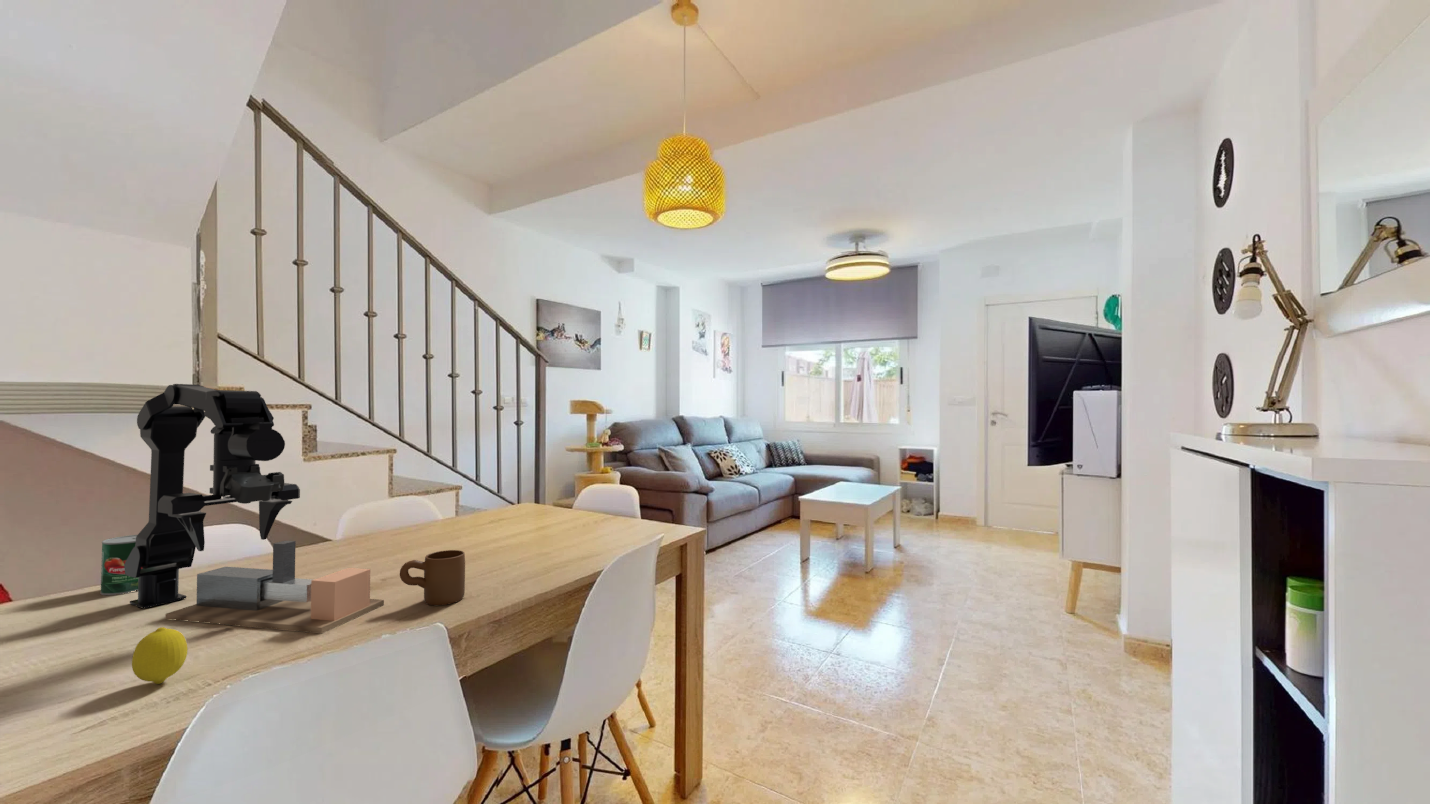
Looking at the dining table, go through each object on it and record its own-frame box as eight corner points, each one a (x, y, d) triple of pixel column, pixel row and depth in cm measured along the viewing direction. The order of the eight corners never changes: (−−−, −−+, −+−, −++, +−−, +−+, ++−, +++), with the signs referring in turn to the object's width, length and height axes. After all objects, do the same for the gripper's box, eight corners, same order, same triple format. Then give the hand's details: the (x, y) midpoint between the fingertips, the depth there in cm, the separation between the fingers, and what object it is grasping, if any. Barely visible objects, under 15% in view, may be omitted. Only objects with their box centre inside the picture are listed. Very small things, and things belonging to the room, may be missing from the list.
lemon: (157, 674, 79) (158, 620, 79) (197, 673, 80) (198, 619, 80) (118, 694, 74) (120, 636, 74) (162, 693, 74) (163, 635, 74)
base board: (165, 619, 100) (165, 613, 100) (243, 593, 114) (243, 589, 114) (321, 633, 94) (321, 627, 94) (383, 604, 108) (384, 599, 108)
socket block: (310, 618, 98) (311, 580, 98) (347, 603, 106) (348, 567, 106) (334, 620, 97) (334, 582, 97) (369, 605, 105) (370, 569, 105)
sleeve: (196, 605, 104) (197, 574, 104) (225, 596, 109) (225, 566, 109) (256, 610, 102) (257, 578, 102) (283, 601, 107) (283, 570, 107)
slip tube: (206, 594, 105) (207, 540, 105) (224, 589, 108) (225, 536, 108) (306, 602, 101) (307, 546, 101) (321, 596, 104) (322, 542, 104)
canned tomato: (111, 597, 111) (113, 544, 111) (92, 592, 114) (93, 540, 114) (162, 585, 118) (163, 535, 119) (142, 581, 121) (143, 532, 121)
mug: (401, 614, 103) (402, 565, 103) (396, 603, 109) (397, 556, 109) (468, 601, 110) (469, 555, 110) (460, 591, 116) (460, 547, 116)
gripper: (189, 465, 86) (188, 563, 85) (317, 456, 103) (316, 538, 102) (157, 462, 90) (155, 555, 90) (284, 454, 107) (283, 532, 107)
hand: (233, 544), depth 97 cm, fingers open, 9 cm apart
